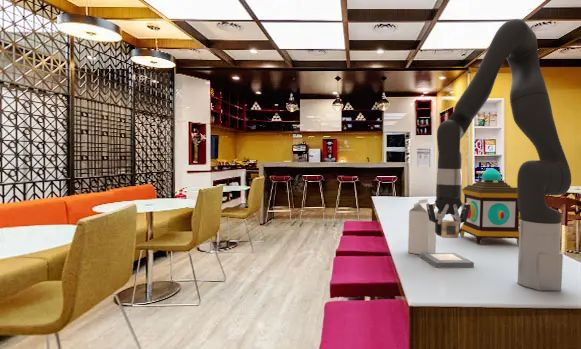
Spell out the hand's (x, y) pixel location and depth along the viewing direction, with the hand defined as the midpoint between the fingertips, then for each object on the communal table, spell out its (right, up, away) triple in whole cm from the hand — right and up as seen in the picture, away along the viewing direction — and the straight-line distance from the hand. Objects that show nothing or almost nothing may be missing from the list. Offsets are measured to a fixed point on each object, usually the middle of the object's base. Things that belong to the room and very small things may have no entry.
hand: (447, 234), depth 124 cm
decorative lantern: (+31, -8, +34) cm, 47 cm away
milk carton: (-4, -8, +12) cm, 15 cm away
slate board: (0, -9, 0) cm, 9 cm away
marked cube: (0, 0, 0) cm, 0 cm away
